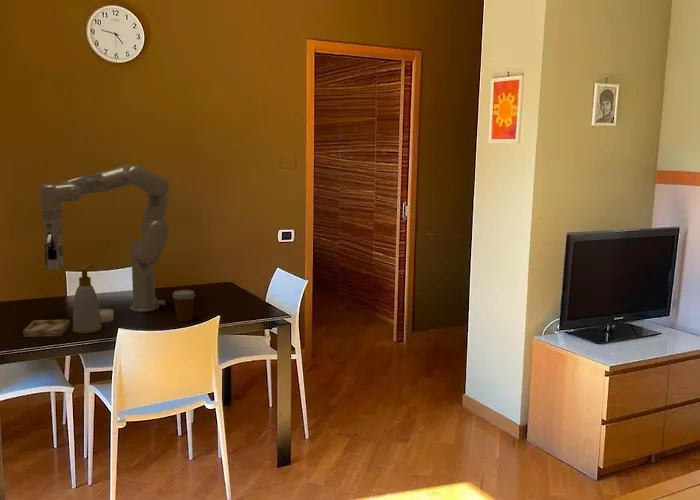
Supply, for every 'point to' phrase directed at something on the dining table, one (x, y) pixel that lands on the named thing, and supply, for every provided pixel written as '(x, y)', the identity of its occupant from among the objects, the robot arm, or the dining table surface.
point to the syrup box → (59, 261)
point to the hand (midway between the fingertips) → (54, 257)
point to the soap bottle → (86, 306)
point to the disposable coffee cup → (184, 304)
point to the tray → (46, 328)
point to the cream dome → (106, 315)
